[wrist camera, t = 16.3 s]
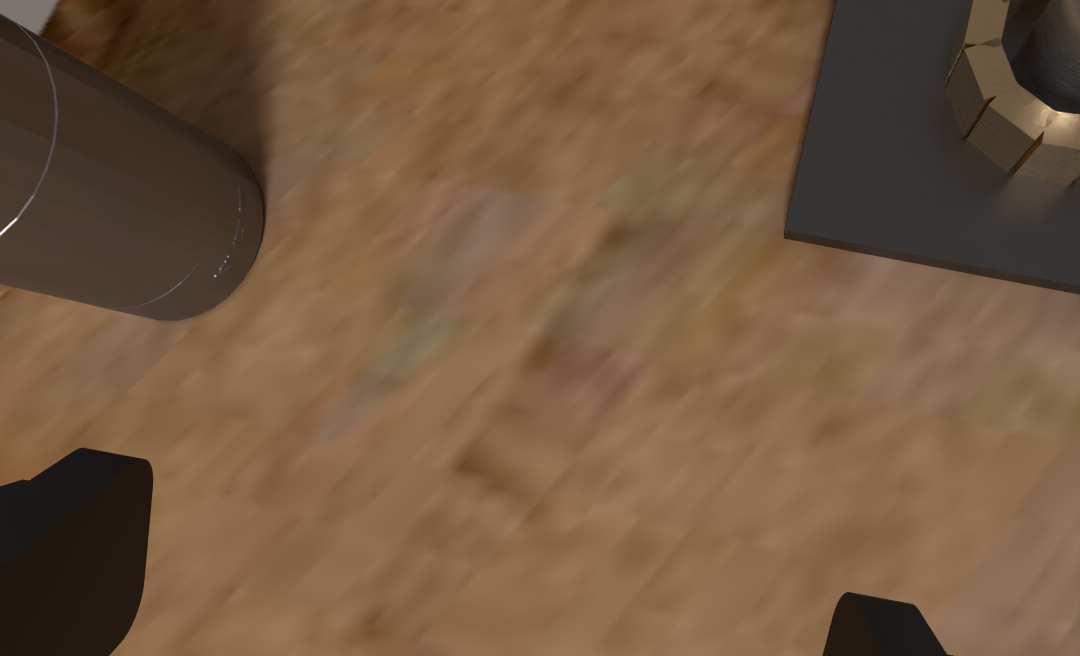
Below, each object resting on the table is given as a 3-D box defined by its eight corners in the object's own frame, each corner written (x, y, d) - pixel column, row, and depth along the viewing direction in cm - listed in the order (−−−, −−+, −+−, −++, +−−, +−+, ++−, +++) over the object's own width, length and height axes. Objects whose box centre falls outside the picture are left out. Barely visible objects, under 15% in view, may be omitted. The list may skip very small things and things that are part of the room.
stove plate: (783, 238, 41) (786, 205, 36) (865, -120, 43) (879, -202, 37) (1267, 329, 37) (1352, 308, 32) (1343, -72, 38) (1436, -158, 33)
